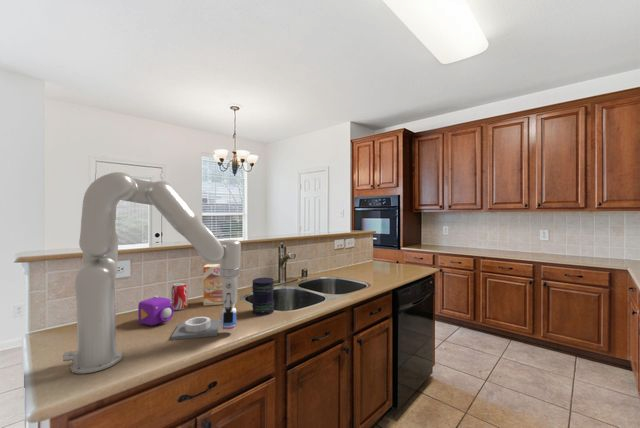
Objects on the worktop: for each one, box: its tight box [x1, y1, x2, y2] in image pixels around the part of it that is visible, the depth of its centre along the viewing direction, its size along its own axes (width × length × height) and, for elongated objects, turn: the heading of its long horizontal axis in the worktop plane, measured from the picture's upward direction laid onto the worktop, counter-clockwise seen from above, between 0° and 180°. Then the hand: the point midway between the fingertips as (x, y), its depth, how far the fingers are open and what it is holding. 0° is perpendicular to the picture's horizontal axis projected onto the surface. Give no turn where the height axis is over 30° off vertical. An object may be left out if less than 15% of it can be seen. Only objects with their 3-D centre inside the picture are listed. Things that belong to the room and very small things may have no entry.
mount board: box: [170, 316, 222, 341], centre depth 115 cm, size 16×14×4 cm
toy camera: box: [137, 295, 175, 327], centre depth 123 cm, size 11×14×10 cm
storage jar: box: [251, 277, 275, 317], centre depth 135 cm, size 10×10×15 cm
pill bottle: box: [220, 302, 237, 332], centre depth 111 cm, size 6×5×10 cm
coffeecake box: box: [203, 263, 224, 306], centre depth 149 cm, size 15×7×20 cm, turn 102°
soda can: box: [170, 281, 189, 311], centre depth 140 cm, size 7×7×12 cm
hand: (228, 319), depth 111 cm, fingers closed on pill bottle, 5 cm apart
